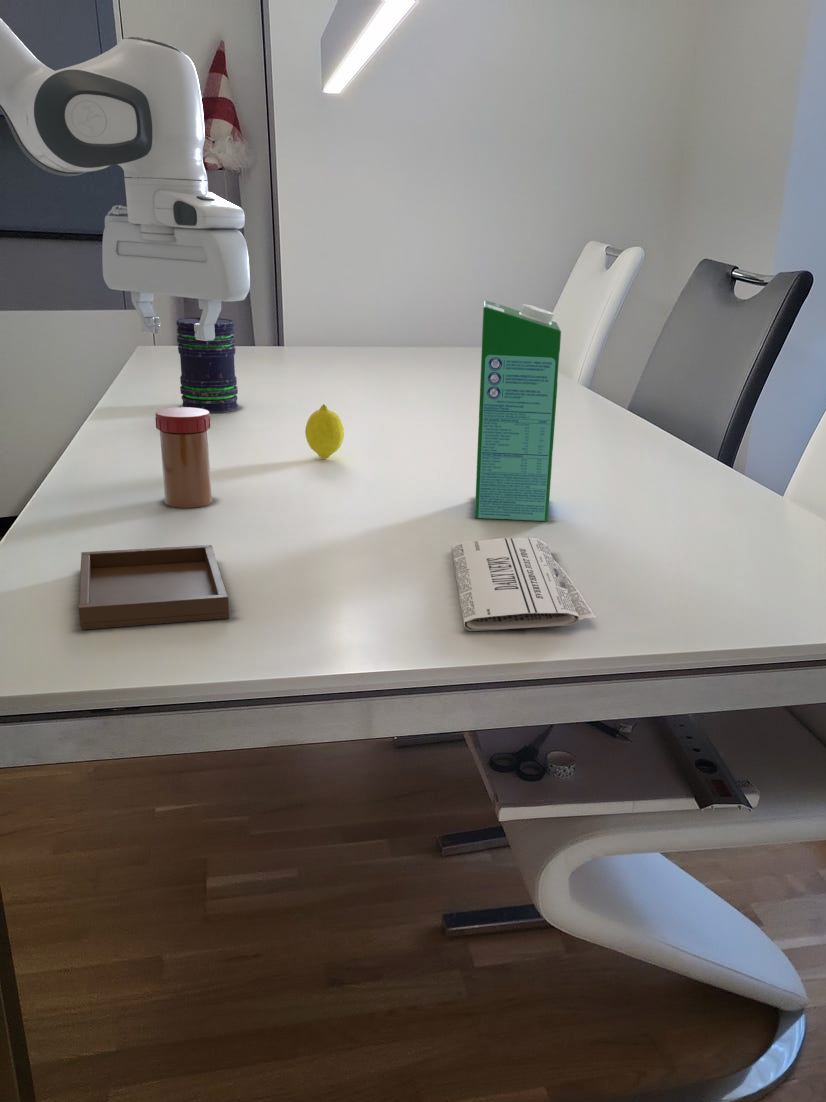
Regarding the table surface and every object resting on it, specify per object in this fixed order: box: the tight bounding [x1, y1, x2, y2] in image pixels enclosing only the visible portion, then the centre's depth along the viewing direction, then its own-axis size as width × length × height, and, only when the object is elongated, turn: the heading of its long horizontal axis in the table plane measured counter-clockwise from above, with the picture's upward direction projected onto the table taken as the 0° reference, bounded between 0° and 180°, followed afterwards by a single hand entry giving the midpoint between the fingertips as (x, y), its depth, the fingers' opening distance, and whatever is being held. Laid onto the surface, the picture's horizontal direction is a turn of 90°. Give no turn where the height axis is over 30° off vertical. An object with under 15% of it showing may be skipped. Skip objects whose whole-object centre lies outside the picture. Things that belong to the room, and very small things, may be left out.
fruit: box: [304, 403, 345, 460], centre depth 151 cm, size 6×6×8 cm
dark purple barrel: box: [175, 317, 239, 414], centre depth 181 cm, size 10×10×15 cm
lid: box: [154, 406, 211, 433], centre depth 124 cm, size 6×6×2 cm
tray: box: [78, 544, 230, 631], centre depth 98 cm, size 16×13×2 cm
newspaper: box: [450, 537, 597, 632], centre depth 104 cm, size 23×12×2 cm, turn 4°
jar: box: [159, 429, 213, 509], centre depth 126 cm, size 6×6×11 cm
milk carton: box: [474, 299, 562, 522], centre depth 126 cm, size 9×9×25 cm
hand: (178, 336), depth 120 cm, fingers open, 7 cm apart
